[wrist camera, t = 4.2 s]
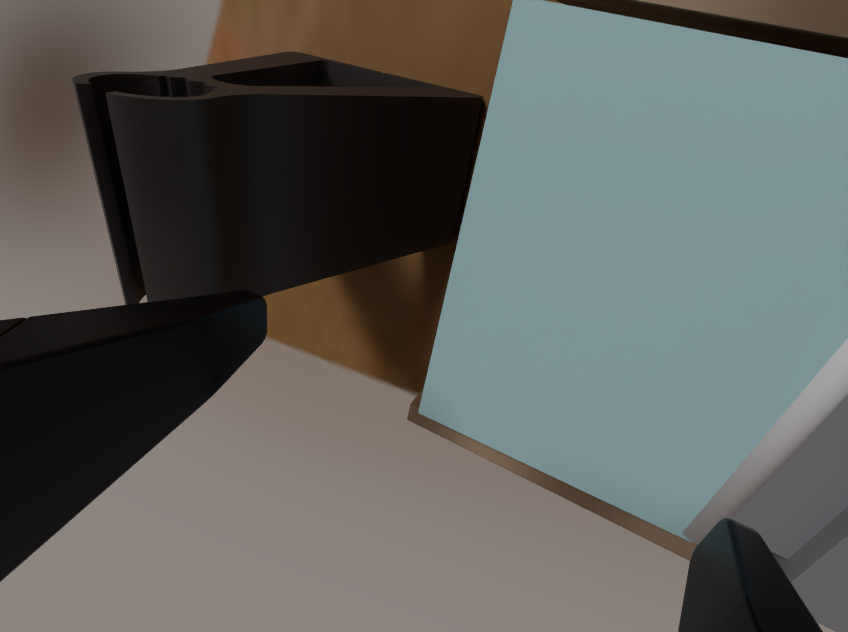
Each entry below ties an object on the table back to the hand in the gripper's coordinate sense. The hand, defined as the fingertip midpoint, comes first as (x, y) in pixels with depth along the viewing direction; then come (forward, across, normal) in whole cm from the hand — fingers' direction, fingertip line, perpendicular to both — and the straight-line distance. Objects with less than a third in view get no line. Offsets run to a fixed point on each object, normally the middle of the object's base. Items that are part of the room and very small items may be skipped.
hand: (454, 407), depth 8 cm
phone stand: (+13, +10, 0) cm, 16 cm away
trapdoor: (+8, -5, 0) cm, 9 cm away
